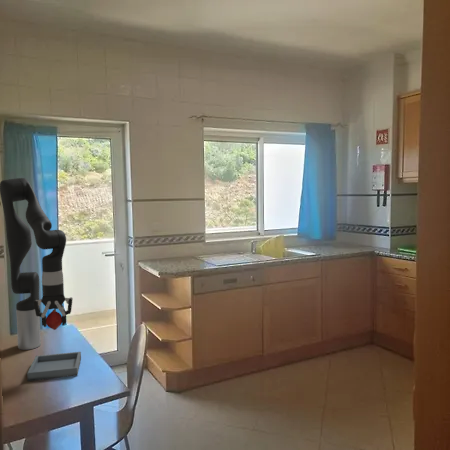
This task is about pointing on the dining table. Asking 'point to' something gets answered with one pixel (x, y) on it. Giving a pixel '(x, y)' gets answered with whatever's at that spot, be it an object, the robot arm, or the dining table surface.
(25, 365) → the dining table surface
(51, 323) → the onion
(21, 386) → the dining table surface
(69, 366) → the tray
